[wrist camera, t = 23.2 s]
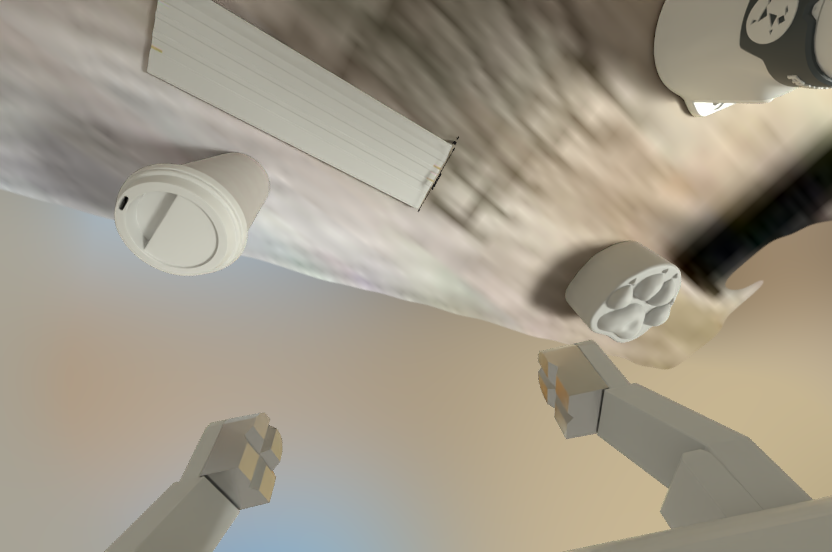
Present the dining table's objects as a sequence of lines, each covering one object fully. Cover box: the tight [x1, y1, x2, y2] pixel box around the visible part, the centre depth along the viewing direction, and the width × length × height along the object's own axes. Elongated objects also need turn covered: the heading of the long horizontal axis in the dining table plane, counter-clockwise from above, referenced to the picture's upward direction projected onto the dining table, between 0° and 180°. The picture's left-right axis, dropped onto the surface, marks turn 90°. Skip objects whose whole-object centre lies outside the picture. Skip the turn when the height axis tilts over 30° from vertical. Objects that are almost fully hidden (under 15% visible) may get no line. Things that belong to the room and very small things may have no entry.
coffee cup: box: [114, 152, 270, 276], centre depth 32 cm, size 10×10×15 cm
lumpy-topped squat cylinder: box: [565, 241, 681, 343], centre depth 48 cm, size 10×13×9 cm
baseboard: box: [147, 0, 459, 212], centre depth 35 cm, size 30×3×10 cm
